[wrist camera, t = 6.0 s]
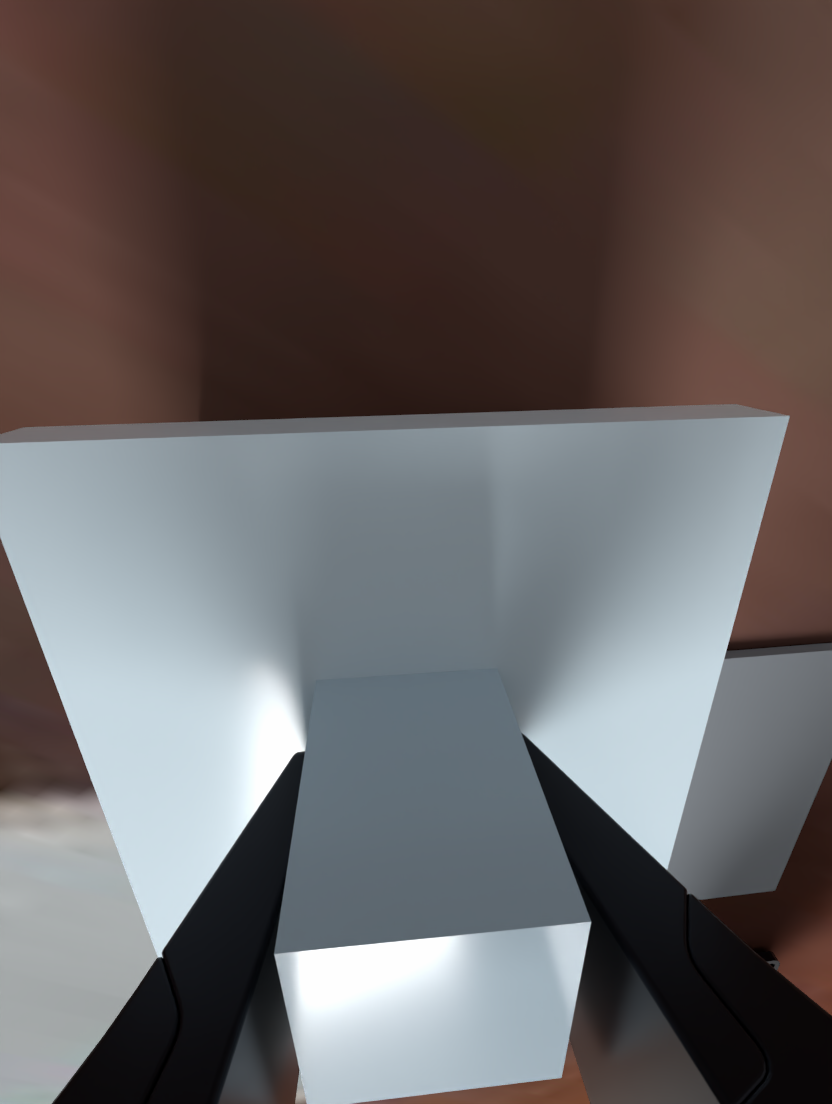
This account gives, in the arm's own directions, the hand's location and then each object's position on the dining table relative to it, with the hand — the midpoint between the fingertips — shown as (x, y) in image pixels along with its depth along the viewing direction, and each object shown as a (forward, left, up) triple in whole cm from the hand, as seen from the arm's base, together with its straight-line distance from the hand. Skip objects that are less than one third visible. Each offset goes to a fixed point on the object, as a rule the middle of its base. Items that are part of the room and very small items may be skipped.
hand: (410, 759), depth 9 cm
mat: (-10, -10, -7) cm, 16 cm away
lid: (0, 0, -2) cm, 2 cm away
